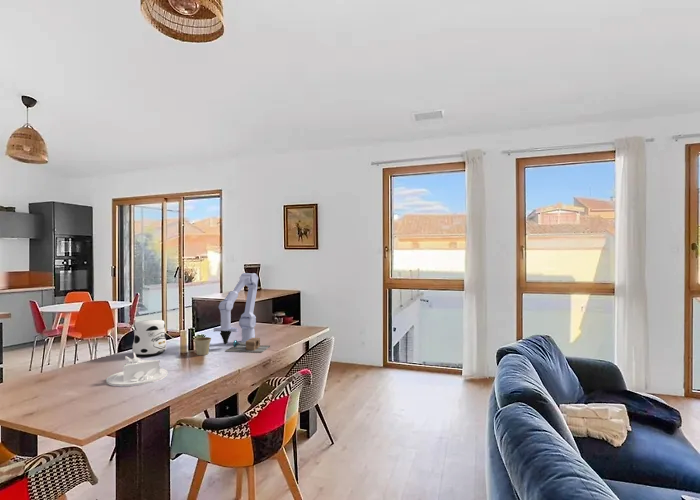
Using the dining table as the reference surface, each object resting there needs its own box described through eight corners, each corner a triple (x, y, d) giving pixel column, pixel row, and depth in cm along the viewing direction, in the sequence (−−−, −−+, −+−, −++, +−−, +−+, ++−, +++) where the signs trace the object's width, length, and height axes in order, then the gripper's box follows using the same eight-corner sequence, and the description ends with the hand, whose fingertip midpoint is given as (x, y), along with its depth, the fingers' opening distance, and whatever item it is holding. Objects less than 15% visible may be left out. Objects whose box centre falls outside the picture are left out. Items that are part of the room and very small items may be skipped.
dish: (98, 389, 172) (98, 362, 172) (115, 372, 196) (115, 349, 196) (162, 384, 178) (162, 358, 178) (171, 368, 202) (171, 345, 202)
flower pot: (207, 356, 225) (207, 340, 225) (190, 356, 225) (190, 340, 225) (213, 352, 234) (213, 337, 234) (197, 352, 234) (197, 337, 235)
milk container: (165, 356, 226) (165, 323, 226) (130, 359, 219) (130, 325, 219) (167, 349, 242) (167, 318, 242) (134, 351, 235) (134, 320, 235)
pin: (235, 346, 245) (236, 339, 245) (254, 346, 244) (254, 340, 244) (233, 347, 241) (233, 341, 241) (252, 348, 240) (252, 341, 240)
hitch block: (235, 345, 251) (235, 336, 251) (270, 346, 249) (270, 337, 249) (224, 351, 235) (224, 341, 235) (261, 352, 233) (261, 342, 233)
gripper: (211, 321, 241) (211, 344, 241) (234, 322, 239) (234, 345, 239) (216, 319, 248) (216, 342, 248) (239, 320, 246) (239, 342, 246)
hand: (225, 343), depth 244 cm, fingers closed
